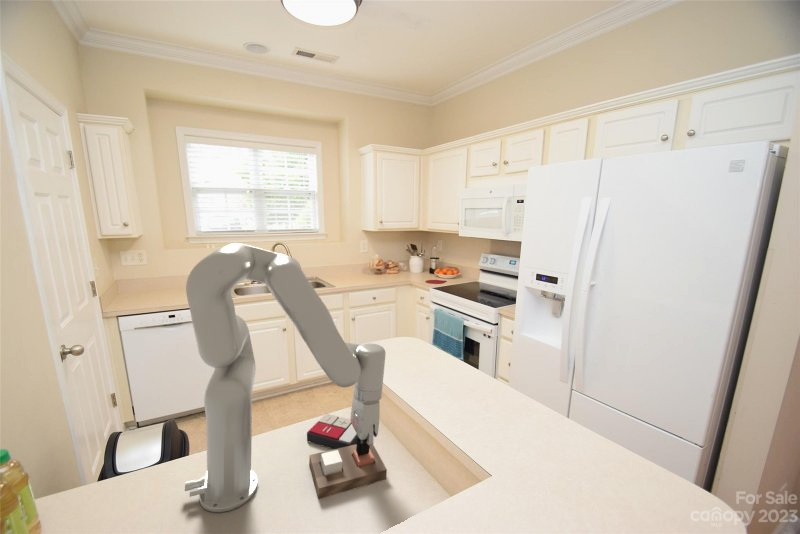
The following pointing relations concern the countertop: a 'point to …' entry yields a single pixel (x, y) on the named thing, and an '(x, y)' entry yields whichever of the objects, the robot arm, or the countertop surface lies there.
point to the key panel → (346, 472)
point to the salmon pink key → (363, 459)
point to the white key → (331, 463)
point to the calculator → (333, 432)
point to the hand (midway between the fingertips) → (362, 452)
